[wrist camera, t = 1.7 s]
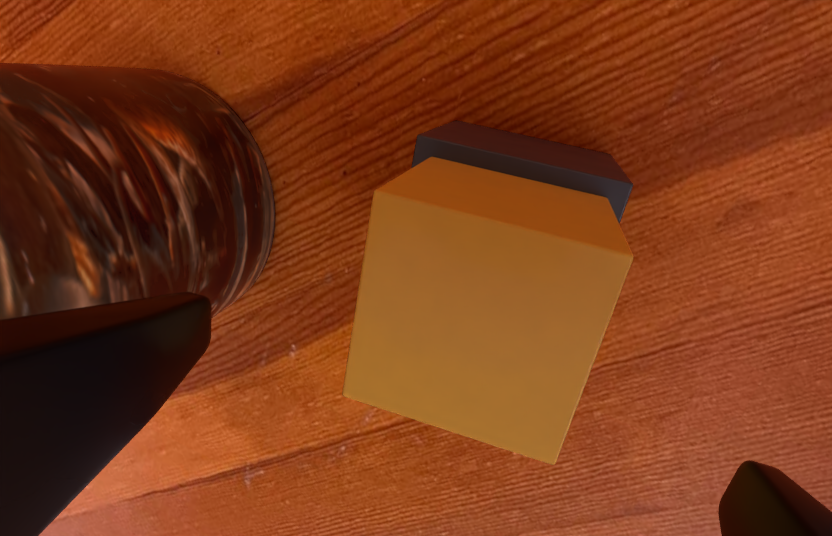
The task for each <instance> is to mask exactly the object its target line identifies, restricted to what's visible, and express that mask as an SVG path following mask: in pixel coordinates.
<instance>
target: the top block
mask: <svg viewBox="0 0 832 536" xmlns="http://www.w3.org/2000/svg"><path fill="white" fill-rule="evenodd" d="M633 258H634V257H633V253H632V251H631V249H630V247H629V245H628V242H627V240H626V238H625V236H624V233H623V231H622V229H621V227H620V225H619V222H618V220H617V218H616V216H615V214H614V211H613V209H612V207H611V205H610V202H609V200H608V198H606V197H602V196H598V195H594V194H589V193H585V192H581V191H577V190H572V189H568V188H564V187H560V186H555V185H551V184H547V183H542V182H538V181H534V180H530V179H525V178H521V177H517V176H513V175H508V174H504V173H500V172H496V171H491V170H487V169H483V168H479V167H474V166H470V165H466V164H462V163H457V162H453V161H449V160H445V159H440V158H436V157H430V158H428V159H426V160H425V161H423V162H421V163H420V164H418V165H416V166H415V167H413V168H411V169H410V170H408V171H406V172H405V173H403V174H401V175H400V176H398V177H396V178H394V179H393V180H391V181H389V182H388V183H386V184H384V185H383V186H381V187H379V188H378V189H376V190H375V191H374V192H373V199H372V205H371V212H370V218H369V224H368V231H367V237H366V244H365V250H364V257H363V263H362V270H361V276H360V283H359V289H358V295H357V302H356V308H355V315H354V321H353V328H352V334H351V341H350V347H349V353H348V360H347V366H346V373H345V379H344V386H343V392H342V395H343V396H344V397H347V398H350V399H353V400H356V401H359V402H362V403H365V404H368V405H371V406H374V407H377V408H380V409H384V410H387V411H390V412H393V413H396V414H399V415H402V416H405V417H408V418H411V419H414V420H417V421H420V422H423V423H426V424H429V425H432V426H435V427H438V428H441V429H445V430H448V431H451V432H454V433H457V434H460V435H463V436H466V437H469V438H472V439H475V440H478V441H481V442H484V443H487V444H490V445H493V446H496V447H499V448H502V449H506V450H509V451H512V452H515V453H518V454H521V455H524V456H527V457H530V458H533V459H536V460H539V461H542V462H545V463H548V464H551V465H554V464H555V463H556V461H557V458H558V455H559V453H560V450H561V447H562V445H563V442H564V440H565V437H566V434H567V432H568V429H569V426H570V424H571V421H572V419H573V416H574V413H575V411H576V408H577V405H578V403H579V400H580V398H581V395H582V392H583V390H584V387H585V384H586V382H587V379H588V377H589V374H590V371H591V369H592V366H593V363H594V361H595V358H596V355H597V353H598V350H599V348H600V345H601V342H602V340H603V337H604V334H605V332H606V329H607V327H608V324H609V321H610V319H611V316H612V313H613V311H614V308H615V306H616V303H617V300H618V298H619V295H620V292H621V290H622V287H623V285H624V282H625V279H626V277H627V274H628V271H629V269H630V266H631V264H632V261H633Z"/></svg>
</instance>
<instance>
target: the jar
mask: <svg viewBox="0 0 832 536" xmlns="http://www.w3.org/2000/svg"><path fill="white" fill-rule="evenodd" d="M274 229H275V204H274V196H273V190H272V185H271V181H270V177H269V174H268V170H267V167H266V165H265V162H264V159H263V157H262V155H261V152H260V150H259V148H258V146H257V144H256V142H255V141H254V139H253V137H252V135H251V134H250V132H249V131H248V129H247V128H246V126H245V125H244V123H243V122H242V121H241V120H240V118H239V117H238V116H237V115H236V114H235V112H234V111H233V110H232V109H231V108H230V107H229V106H228V105H227V104H226V103H225V102H224V101H223V100H222V99H221V98H219V97H218V96H217V95H215V94H214V93H213V92H212V91H210V90H209V89H207V88H206V87H204V86H203V85H201V84H199V83H197V82H195V81H193V80H191V79H189V78H187V77H184V76H182V75H179V74H175V73H172V72H167V71H162V70H155V69H143V68H125V67H103V66H78V65H49V64H20V63H0V320H3V319H9V318H16V317H22V316H29V315H35V314H42V313H49V312H55V311H62V310H68V309H75V308H81V307H88V306H95V305H101V304H108V303H114V302H121V301H127V300H134V299H140V298H147V297H154V296H160V295H167V294H173V293H180V292H192V293H195V294H199V295H202V296H205V297H207V298H208V299H209V300H210V301H211V306H212V311H211V318H213V317H214V316H216V315H217V314H218V313H220V312H221V311H223V310H224V309H226V308H227V307H228V306H230V305H231V304H233V303H234V302H235V301H237V300H238V299H239V298H240V297H241V296H243V295H244V294H245V293H246V292H247V291H248V290H249V289H250V288H251V286H252V285H253V284H254V283H255V281H256V280H257V279H258V277H259V276H260V274H261V272H262V271H263V269H264V266H265V264H266V262H267V259H268V257H269V254H270V251H271V247H272V243H273V237H274Z"/></svg>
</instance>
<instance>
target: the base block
mask: <svg viewBox="0 0 832 536" xmlns="http://www.w3.org/2000/svg"><path fill="white" fill-rule="evenodd" d="M430 157H436V158H440V159H445V160H449V161H453V162H457V163H462V164H466V165H470V166H474V167H479V168H483V169H487V170H491V171H496V172H500V173H504V174H508V175H513V176H517V177H521V178H525V179H530V180H534V181H538V182H542V183H547V184H551V185H555V186H560V187H564V188H568V189H572V190H577V191H581V192H585V193H589V194H594V195H598V196H602V197H606V198H608V200H609V202H610V205H611V207H612V209H613V211H614V214H615V216H616V218H617V220H618V222H619V223H620V221H621V218H622V215H623V212H624V209H625V207H626V204H627V201H628V198H629V195H630V193H631V190H632V187H633V183H632V182H631V181H630V179H629V178H628V177H627V175H626V174H625V173H624V172H623V170H622V169H621V168H620V166H619V165H618V164H617V162H616V161H615V160H614V158H613V157H612V156H611V155H610V154H607V153H602V152H598V151H593V150H589V149H584V148H580V147H575V146H571V145H566V144H561V143H557V142H552V141H548V140H543V139H539V138H534V137H530V136H525V135H521V134H516V133H512V132H507V131H503V130H498V129H493V128H489V127H484V126H480V125H475V124H471V123H466V122H462V121H457V120H456V121H453V122H450V123H448V124H445V125H442V126H440V127H437V128H435V129H432V130H429V131H427V132H424V133H421V134H419V135H418V136H417V140H416V145H415V151H414V156H413V162H412V167H411V168H413V167H415V166H416V165H418V164H420V163H421V162H423V161H425V160H426V159H428V158H430Z"/></svg>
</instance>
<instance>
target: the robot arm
mask: <svg viewBox="0 0 832 536" xmlns="http://www.w3.org/2000/svg"><path fill="white" fill-rule="evenodd" d="M211 311H212V306H211V301H210V300H209V299H208V298H207V297H205V296H202V295H199V294H195V293H192V292H180V293H173V294H167V295H160V296H154V297H147V298H140V299H134V300H127V301H121V302H114V303H108V304H101V305H95V306H88V307H81V308H75V309H68V310H62V311H55V312H49V313H42V314H35V315H29V316H22V317H16V318H9V319H3V320H0V536H38V535H39V534H40V533H41V532H42V531H43V530H44V529H45V528H46V527H47V526H48V525H49V524H50V523H51V522H52V521H53V520H54V519H55V518H56V517H57V516H58V515H59V514H60V513H61V512H62V511H63V510H64V509H65V508H66V507H67V505H68V504H69V503H70V502H71V501H72V500H73V499H74V498H75V497H76V496H77V495H78V494H79V493H80V492H81V491H82V490H83V489H84V488H85V487H86V486H87V485H88V484H89V483H90V482H91V481H92V480H93V479H94V478H95V477H96V476H97V475H98V473H99V472H100V471H101V470H102V469H103V468H104V467H105V466H106V465H107V464H108V463H109V462H110V461H111V460H112V459H113V458H114V457H115V456H116V455H117V454H118V453H119V452H120V451H121V450H122V449H123V448H124V447H125V446H126V445H127V444H128V443H129V441H130V440H131V439H132V438H133V437H134V436H135V435H136V434H137V433H138V432H139V431H140V430H141V429H142V428H143V427H144V426H145V425H146V424H147V423H148V422H149V421H150V419H151V418H152V417H153V416H154V415H155V414H156V413H157V411H158V410H159V409H160V408H161V407H162V406H163V404H164V403H165V402H166V401H167V399H168V398H169V397H170V396H171V394H172V393H173V392H174V390H175V389H176V388H177V387H178V385H179V384H180V383H181V382H182V380H183V379H184V378H185V377H186V375H187V374H188V373H189V371H190V370H191V369H192V368H193V366H194V365H195V364H196V363H197V361H198V360H199V359H200V358H201V356H202V355H203V354H204V353H205V351H206V350H207V348H208V346H209V343H210V339H211ZM719 520H720V527H721V534H722V536H832V512H831V511H830V510H828V509H827V508H826V507H825V506H824V505H822V504H821V503H820V502H819V501H817V500H816V499H815V498H814V497H812V496H811V495H810V494H809V493H807V492H806V491H805V490H804V489H803V488H801V487H800V486H799V485H798V484H796V483H795V482H794V481H793V480H791V479H790V478H789V477H788V476H786V475H785V474H784V473H783V472H782V471H780V470H779V469H777V468H775V467H772V466H768V465H765V464H762V463H758V462H755V461H750V460H749V461H745V462H743V463H742V464H741V465H740V467H739V468H738V470H737V472H736V473H735V475H734V477H733V479H732V480H731V482H730V484H729V486H728V487H727V489H726V491H725V493H724V494H723V496H722V498H721V501H720V504H719Z"/></svg>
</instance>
